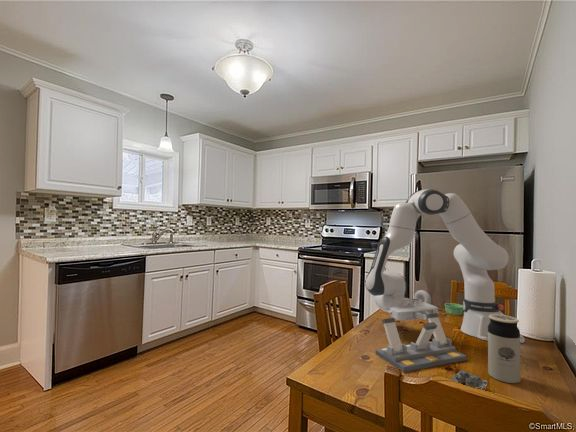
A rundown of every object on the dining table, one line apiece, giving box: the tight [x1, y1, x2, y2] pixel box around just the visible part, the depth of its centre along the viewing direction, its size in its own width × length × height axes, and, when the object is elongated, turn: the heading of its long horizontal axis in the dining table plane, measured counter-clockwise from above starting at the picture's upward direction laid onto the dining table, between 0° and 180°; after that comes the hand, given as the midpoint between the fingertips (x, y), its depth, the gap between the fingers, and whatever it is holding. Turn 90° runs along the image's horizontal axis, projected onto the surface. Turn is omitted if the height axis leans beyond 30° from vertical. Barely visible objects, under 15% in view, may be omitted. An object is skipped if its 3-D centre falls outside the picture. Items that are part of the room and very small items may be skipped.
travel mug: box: [487, 314, 521, 384], centre depth 91 cm, size 8×8×18 cm
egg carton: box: [448, 369, 488, 391], centre depth 83 cm, size 11×8×4 cm
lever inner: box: [426, 313, 448, 345], centre depth 110 cm, size 2×4×11 cm, turn 110°
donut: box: [413, 289, 432, 305], centre depth 169 cm, size 10×4×10 cm, turn 32°
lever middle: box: [414, 322, 437, 349], centre depth 103 cm, size 2×4×11 cm, turn 110°
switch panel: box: [375, 336, 468, 373], centre depth 105 cm, size 14×27×5 cm, turn 110°
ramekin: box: [444, 302, 464, 316], centre depth 159 cm, size 9×9×4 cm
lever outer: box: [381, 317, 403, 352], centre depth 103 cm, size 2×4×11 cm, turn 110°
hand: (429, 317), depth 114 cm, fingers closed
